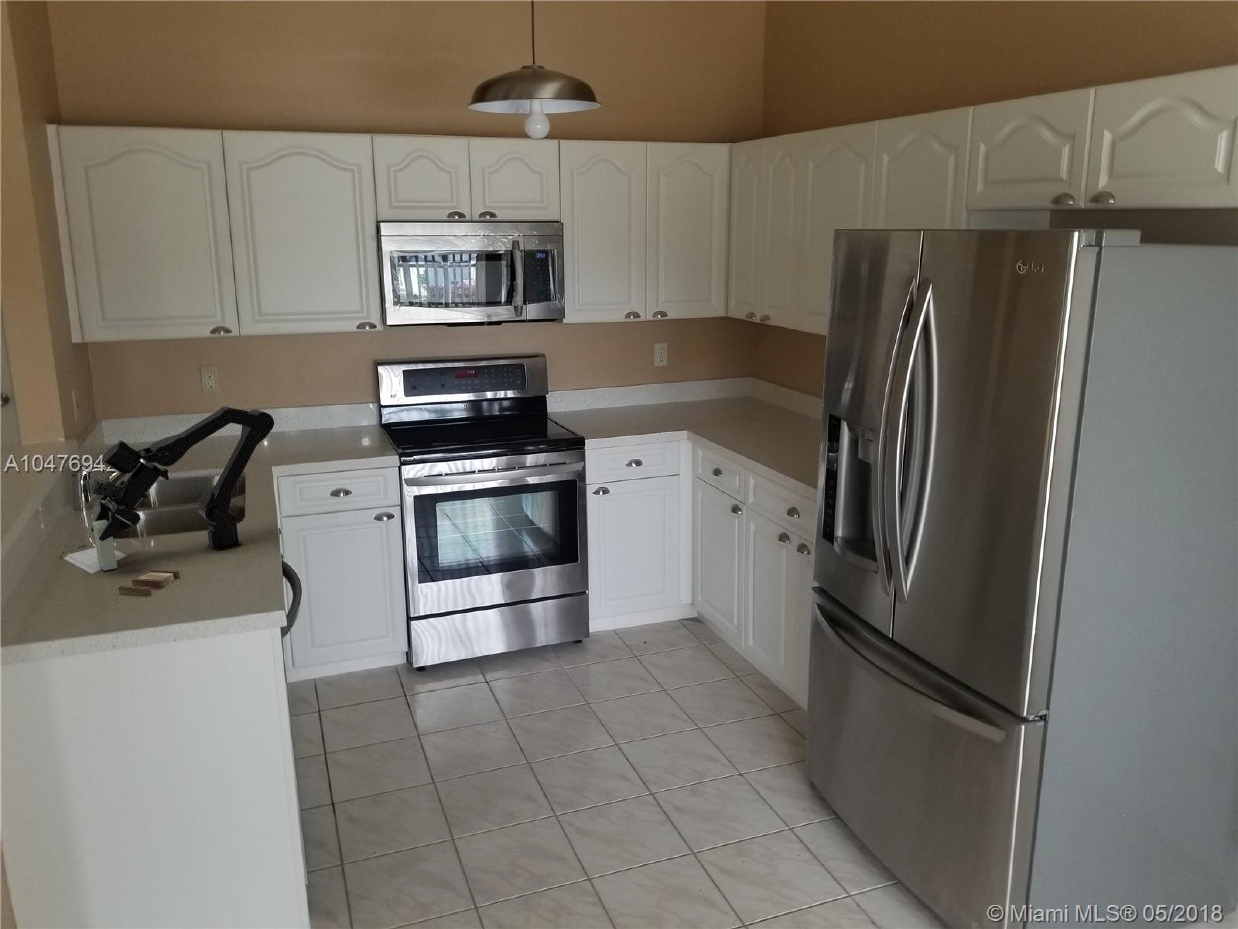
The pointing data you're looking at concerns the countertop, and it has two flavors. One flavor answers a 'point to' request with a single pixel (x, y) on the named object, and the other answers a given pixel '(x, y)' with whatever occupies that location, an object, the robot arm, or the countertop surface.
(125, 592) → the rack
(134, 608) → the countertop surface
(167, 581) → the offcut low
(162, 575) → the offcut top
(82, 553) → the baseboard
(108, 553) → the pale green block
